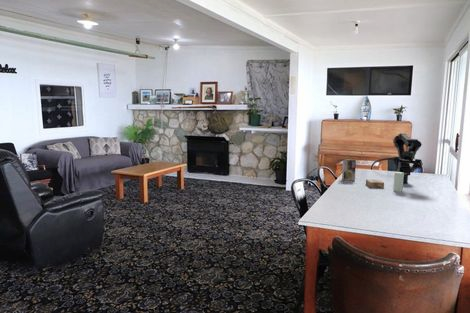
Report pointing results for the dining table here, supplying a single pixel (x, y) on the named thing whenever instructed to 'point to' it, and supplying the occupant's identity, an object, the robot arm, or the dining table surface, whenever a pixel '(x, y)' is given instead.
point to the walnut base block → (374, 183)
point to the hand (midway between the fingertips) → (403, 170)
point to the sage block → (398, 181)
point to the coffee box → (348, 169)
